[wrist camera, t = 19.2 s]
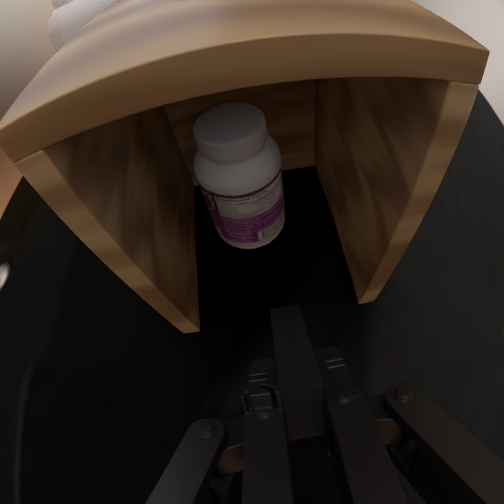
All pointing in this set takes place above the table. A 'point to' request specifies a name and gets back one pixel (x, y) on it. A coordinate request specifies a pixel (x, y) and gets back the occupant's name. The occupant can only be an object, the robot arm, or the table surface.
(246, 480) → the robot arm
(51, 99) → the cubby
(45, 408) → the table surface
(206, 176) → the pill bottle
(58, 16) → the white jar
